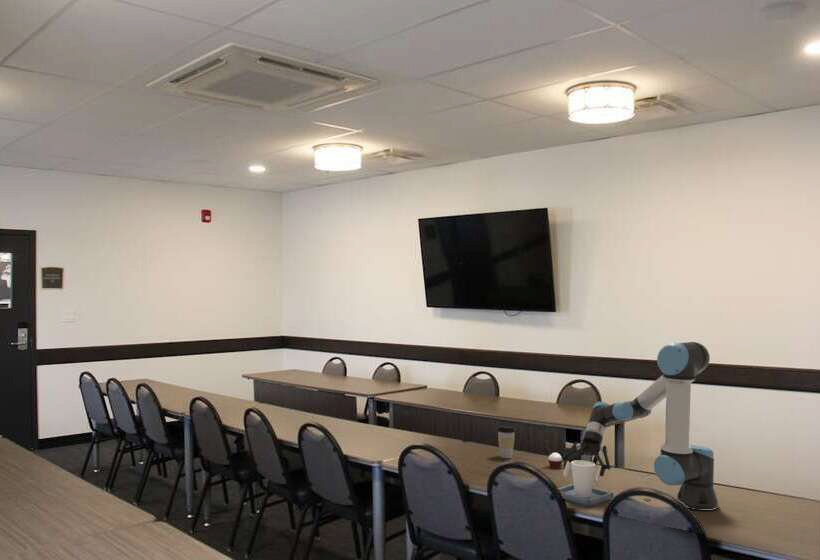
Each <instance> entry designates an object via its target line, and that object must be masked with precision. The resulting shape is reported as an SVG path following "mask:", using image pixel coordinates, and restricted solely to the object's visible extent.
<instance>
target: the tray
mask: <svg viewBox="0 0 820 560" xmlns="http://www.w3.org/2000/svg"><path fill="white" fill-rule="evenodd" d="M557 489H559V490H560V492H561V493H562V495H563V497H564V498H565V500H564V501H566V500H567V501H566V502H570V503H573V504H576V505H580V506H583V507H587V508H592V507H595V506H598V505H601V504H604V503H606V502H609V501H612V500H611V498H613V499H614V493H613V492H610V491H607V490H604V489H601V488H596V487H593V486H592V491H591V497H587V498H583V497H578V496H576V495H575V492H574V483H570V484H568V485H564V486H562V487H559V488H557Z"/></svg>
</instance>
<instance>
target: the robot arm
mask: <svg viewBox="0 0 820 560" xmlns="http://www.w3.org/2000/svg"><path fill="white" fill-rule="evenodd" d="M710 357H711V356H710V353H709V351H708V349H707V347H706V346H704V345H703V344H702V343H699V342H696V341H688V342H673V343H669V344H666V345H664V346H663V347H662V348H660V350H659V352H658V354H657V357H656V358H657V359H656V362H657V363H656V364H657V367H658V368H659V370H660V371H661V372H662V375H661V376H660V377H658V378H657V379H656V380H655V381H654V382H653V383H652V384H650V385H649V386H648V387H647V388H646V389H645V390H643V391H642V392H641V393H640V394H639V395H637V397H635V398H634V399H633V400H630V401H629V400H628V401H617V402H615V403H612V404H609V403H607V402H604V401H602V402H601V401H597V402H596V403H594V404H593V406H592V409H591V411H590V416H589V420H588V423H587V426H586V429H585V433H584V435H583V437H582V442H581V443H579V442H578V441H574V442H573V444H572V446H570V448H569V449H568V450H567V451H566V452H565V453H564V454H563V455H562V456H561V457H562V461H563V462H562V463H563V464H564V465H563V466H562V467H563V473H562V476H563V478H564V479H567V478H568V474H569V472H570V468H571V462H572V461H575V460H578V458H580V457H582V456H584V455H585V456H590V457H593V456H594V457H595V458H596V460H597V461H598V463H599V465H600V466H598V470H597V473H596V476H595V483H596V485H599V484H600V482H601V479H602V478H601V477H604V475H605V472H606V470H611V469H612V468H611V465H610V460H609V457H608V448H607V446H606V445H603V446H602V443H603V438H604V436H605V432H606V430H607V425H608V424H613V423H617V422H624V421H629V420H635V419H643V418H646V417H649V416H650V414H652V409H654V408H655V407H656V406H657V405H659V404H660V403H661V402H662V401H664V400H665V427H664V428H665V429H664V430H665V432H664V434H665V435H664V436H665V437H664V443H663V444H662V445H661V446H660V452H659V453H660V455H658V456H657V457H656V458H655V460H654V462H653V468H654V472H655V474H656V476H657V478H658V479H659V480H660V481H661V482H662V483H663V484H665V485H667V486H673V487H674V486H680V487H679V490H678V493H677V495H676V500H677V499H678V500H680V501H681V502H683V503H684V504H685V505H686V506H688V507H689V508H691V509H690V510H692V508H695V509H713V508H716V507H718V508H719V500H718V497H717V493H716V491H715V488H714V487H715V486H714V481H715V479H714V478H715V477H714V476H715V475H714V473H715V472H714V465H715V458H714V451H713V449H711V448H709V447H705V446H702V445H694V444H690V421H691V418H690V417H691V392H692V391H691V389H692V386H691V384H692V383H693V382H695V381H696V377H697V376H698V375H699V374H701V373H702V372H703V371H705V370H706V368H707V367H708V365H709V364H710ZM600 451H601V452H602V454H603V458H604V461H605V463H604V461H603V459H601V456H600V455H599V454H598V453H599V452H600ZM564 462H565V463H564Z"/></svg>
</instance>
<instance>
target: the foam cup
mask: <svg viewBox="0 0 820 560" xmlns="http://www.w3.org/2000/svg"><path fill="white" fill-rule="evenodd" d="M570 464H571V466H570V468H571V474H572V481H573V482H572V484H574V492H575V495H576V496H578V497H583V498H587V497H591V491H592V487H593V483H594V475H595V471H596V463H595V462H594V461H590V460H583V459H580V460H579V459H575V460H574V461H572V462H571V463H570Z"/></svg>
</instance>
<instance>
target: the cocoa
mask: <svg viewBox="0 0 820 560" xmlns="http://www.w3.org/2000/svg"><path fill="white" fill-rule="evenodd" d="M544 443H545V446H546V449H547V452H548V454H549V455H548V464H549V466H550V468H552V467H553V469H559V468H561V467H563V466H564V463H565V462H563V460H562V456H561V454H560V453H559V452H552V453H551V449H550V447H549V443H548V441H547V440H546V439H545V440H544ZM562 463H563V464H562Z"/></svg>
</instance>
